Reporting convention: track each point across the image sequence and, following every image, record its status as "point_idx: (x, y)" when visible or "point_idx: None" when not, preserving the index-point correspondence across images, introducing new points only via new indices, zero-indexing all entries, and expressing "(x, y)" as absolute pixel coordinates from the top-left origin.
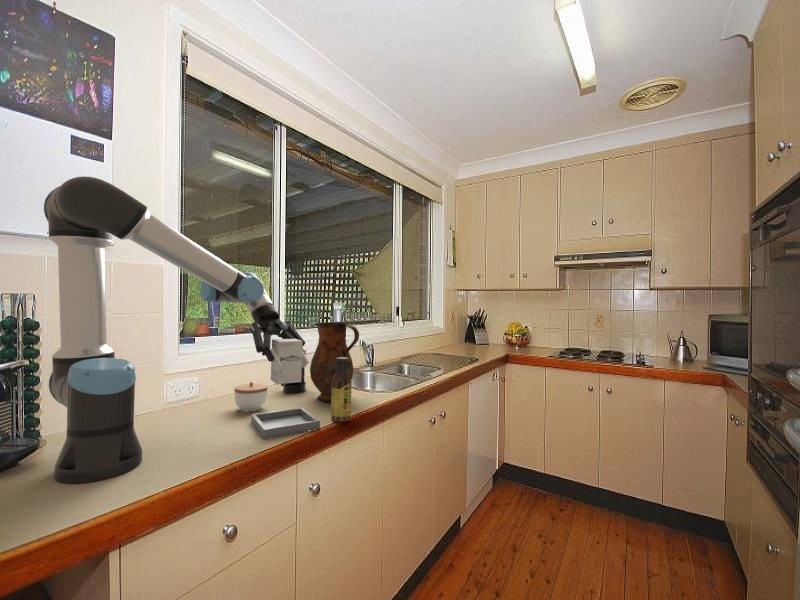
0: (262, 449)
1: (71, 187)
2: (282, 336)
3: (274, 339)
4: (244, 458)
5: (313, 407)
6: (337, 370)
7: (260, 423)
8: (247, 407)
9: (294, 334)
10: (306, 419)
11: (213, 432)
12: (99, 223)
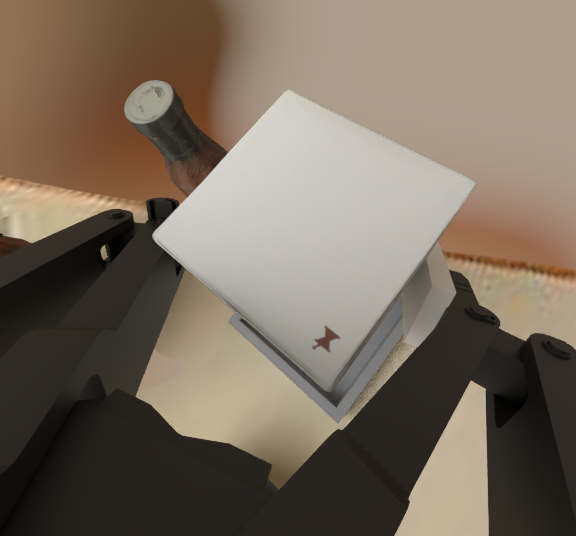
0: (471, 267)
1: None
2: (132, 377)
3: (348, 340)
4: (529, 269)
5: (166, 331)
6: (195, 145)
7: (393, 340)
8: None
9: (41, 280)
10: None
11: (450, 467)
12: None
